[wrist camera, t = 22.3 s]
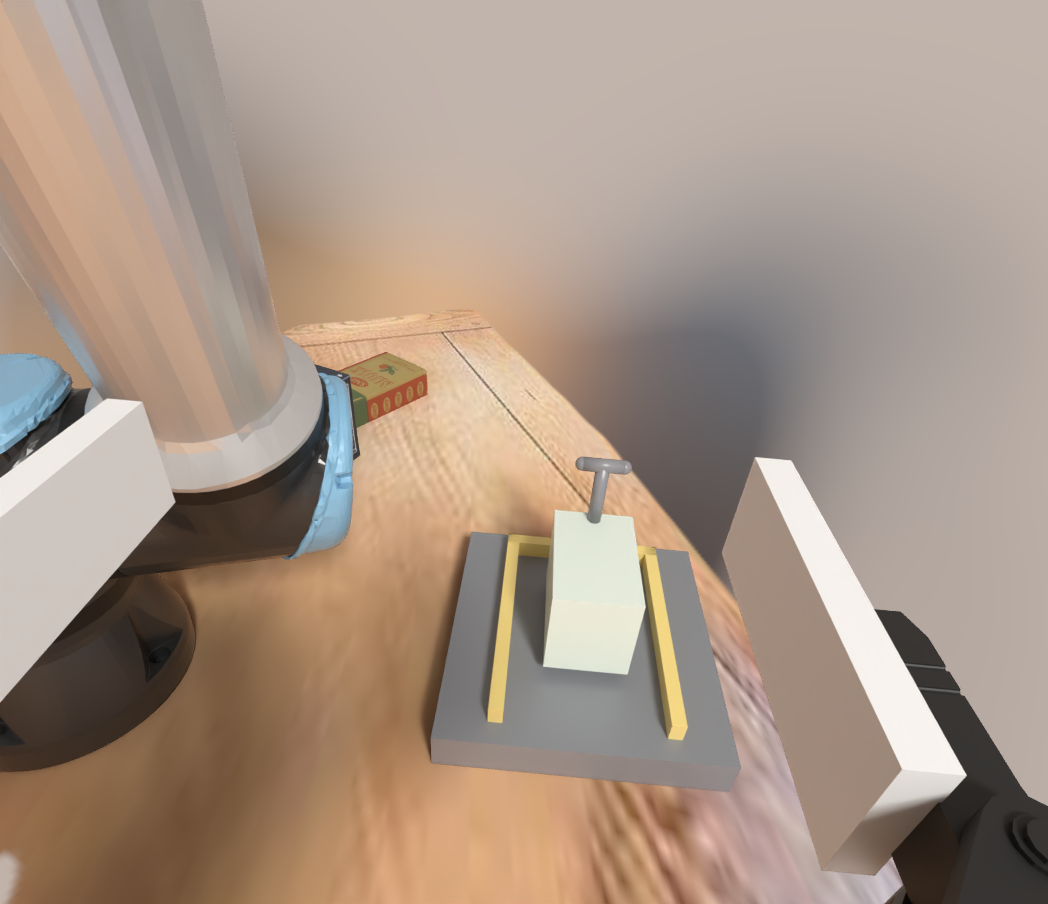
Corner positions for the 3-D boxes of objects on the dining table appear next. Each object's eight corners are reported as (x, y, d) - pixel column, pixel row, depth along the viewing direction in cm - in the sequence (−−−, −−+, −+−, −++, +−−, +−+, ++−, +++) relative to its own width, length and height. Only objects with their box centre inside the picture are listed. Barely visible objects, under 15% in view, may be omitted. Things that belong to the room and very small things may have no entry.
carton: (428, 396, 82) (428, 368, 80) (332, 443, 71) (328, 412, 69) (387, 376, 86) (386, 349, 84) (290, 417, 75) (285, 387, 73)
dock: (431, 763, 40) (430, 724, 37) (470, 555, 57) (471, 519, 54) (728, 791, 40) (747, 755, 37) (680, 574, 56) (691, 539, 54)
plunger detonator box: (541, 675, 43) (561, 534, 35) (545, 583, 50) (562, 450, 43) (625, 683, 43) (662, 543, 35) (616, 589, 50) (645, 458, 43)
